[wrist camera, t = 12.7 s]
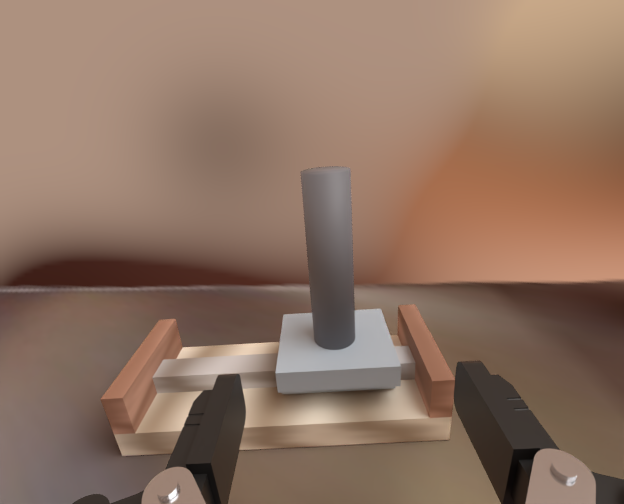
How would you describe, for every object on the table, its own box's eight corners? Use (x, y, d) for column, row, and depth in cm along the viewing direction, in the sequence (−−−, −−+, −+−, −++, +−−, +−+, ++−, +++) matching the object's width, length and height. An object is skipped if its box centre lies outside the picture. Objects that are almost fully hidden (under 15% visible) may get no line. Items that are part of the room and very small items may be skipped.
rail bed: (412, 352, 31) (414, 304, 30) (449, 439, 23) (455, 379, 21) (172, 366, 32) (159, 319, 30) (122, 456, 24) (100, 399, 22)
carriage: (380, 340, 30) (381, 158, 24) (399, 403, 23) (406, 175, 18) (287, 345, 30) (266, 166, 24) (280, 410, 23) (249, 186, 18)
